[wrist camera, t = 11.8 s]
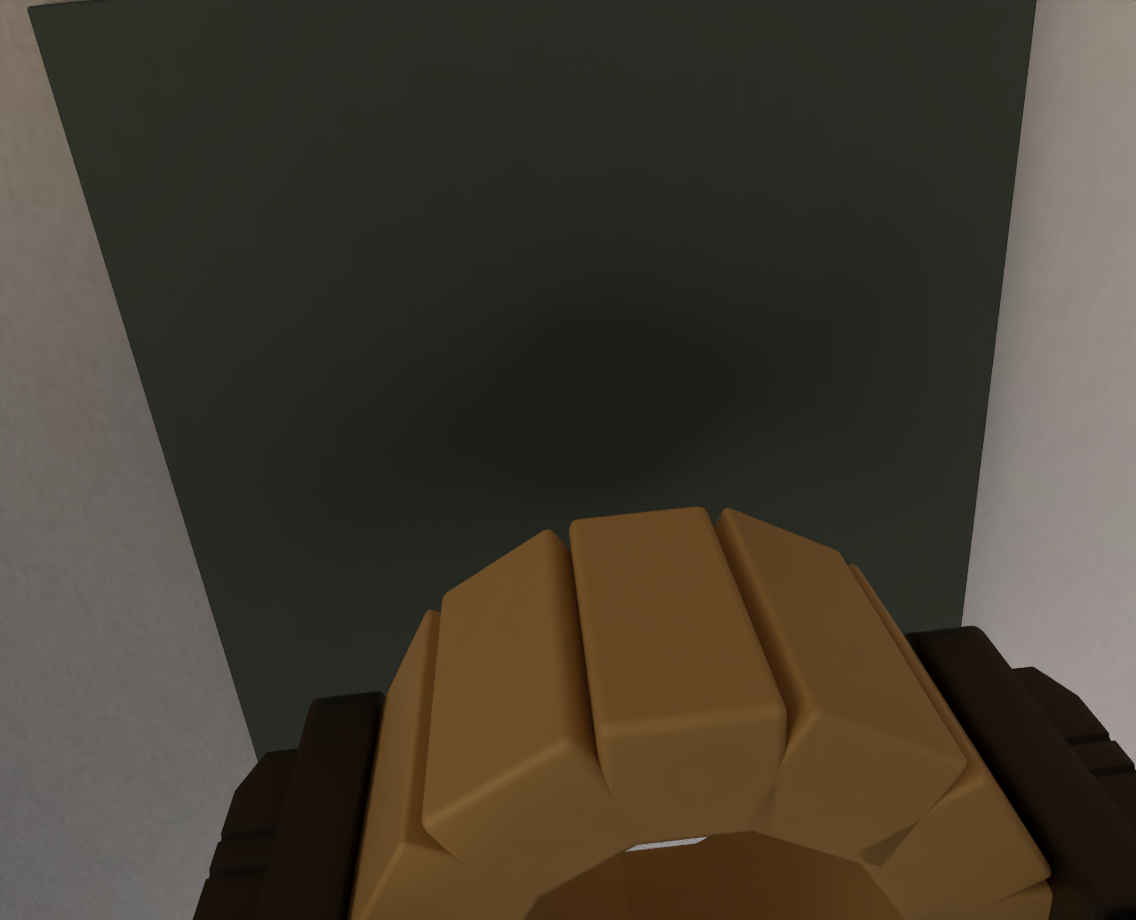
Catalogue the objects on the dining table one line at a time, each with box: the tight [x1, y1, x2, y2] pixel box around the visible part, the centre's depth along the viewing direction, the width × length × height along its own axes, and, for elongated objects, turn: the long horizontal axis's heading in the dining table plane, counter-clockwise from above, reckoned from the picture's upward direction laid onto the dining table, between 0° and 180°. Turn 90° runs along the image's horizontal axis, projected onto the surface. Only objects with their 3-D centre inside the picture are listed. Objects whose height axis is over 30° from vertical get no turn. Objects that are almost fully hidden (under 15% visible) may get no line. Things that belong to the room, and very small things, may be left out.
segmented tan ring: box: [347, 506, 1053, 920], centre depth 9 cm, size 6×6×3 cm
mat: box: [28, 0, 1037, 762], centre depth 18 cm, size 16×16×1 cm
